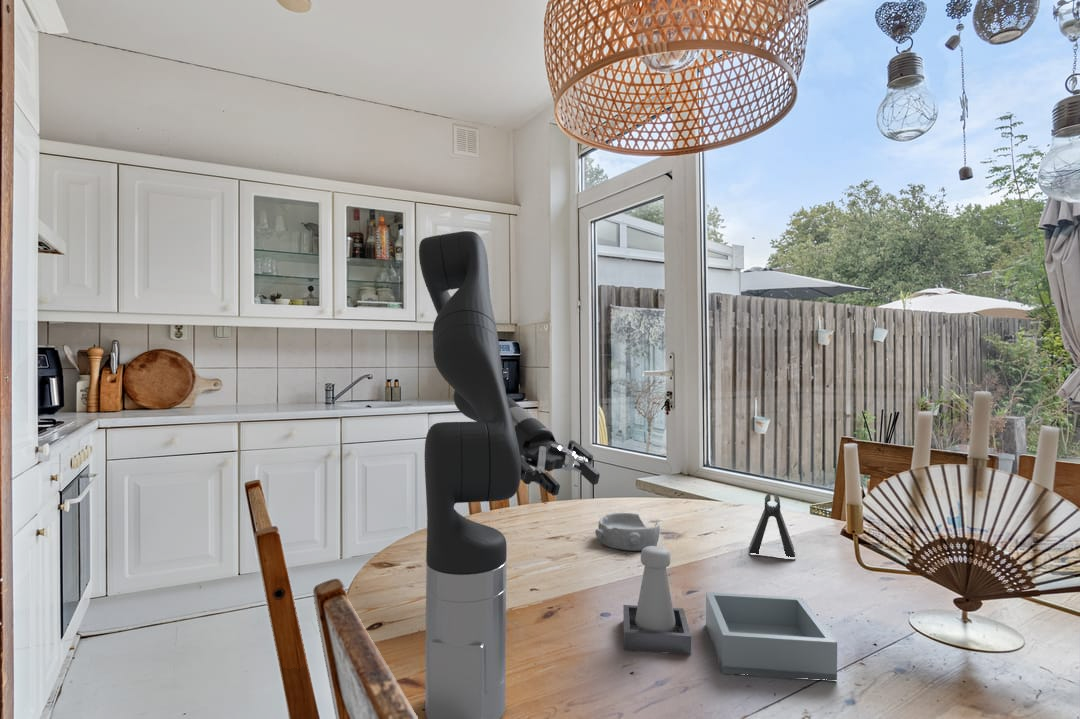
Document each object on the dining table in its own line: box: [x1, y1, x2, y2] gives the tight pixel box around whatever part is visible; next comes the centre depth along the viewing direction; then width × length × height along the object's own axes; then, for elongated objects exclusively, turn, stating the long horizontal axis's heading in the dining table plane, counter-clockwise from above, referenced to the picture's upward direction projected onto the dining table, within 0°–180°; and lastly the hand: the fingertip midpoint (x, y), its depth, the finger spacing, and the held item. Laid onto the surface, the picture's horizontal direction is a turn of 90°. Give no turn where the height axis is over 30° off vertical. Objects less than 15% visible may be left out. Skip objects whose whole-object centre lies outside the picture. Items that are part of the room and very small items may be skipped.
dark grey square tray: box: [622, 604, 692, 655], centre depth 85 cm, size 9×9×2 cm
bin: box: [705, 591, 838, 681], centre depth 81 cm, size 14×14×5 cm
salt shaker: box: [635, 545, 676, 633], centre depth 85 cm, size 6×6×13 cm
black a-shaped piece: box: [748, 492, 796, 557], centre depth 123 cm, size 9×6×12 cm, turn 68°
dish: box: [594, 512, 661, 552], centre depth 129 cm, size 14×14×5 cm
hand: (577, 485), depth 96 cm, fingers open, 8 cm apart
